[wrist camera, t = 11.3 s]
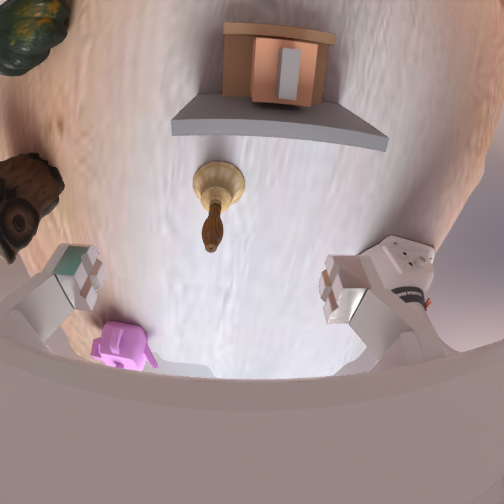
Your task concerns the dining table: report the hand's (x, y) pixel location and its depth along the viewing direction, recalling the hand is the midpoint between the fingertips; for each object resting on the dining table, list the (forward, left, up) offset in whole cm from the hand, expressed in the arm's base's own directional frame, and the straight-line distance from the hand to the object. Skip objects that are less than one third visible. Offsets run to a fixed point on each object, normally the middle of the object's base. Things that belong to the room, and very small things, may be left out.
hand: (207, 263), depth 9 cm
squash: (+31, -17, -33) cm, 48 cm away
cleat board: (-5, -3, -33) cm, 33 cm away
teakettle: (+30, +62, -33) cm, 76 cm away
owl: (+38, +11, -33) cm, 51 cm away
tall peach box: (-5, -5, -30) cm, 31 cm away
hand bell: (+2, +14, -33) cm, 36 cm away
